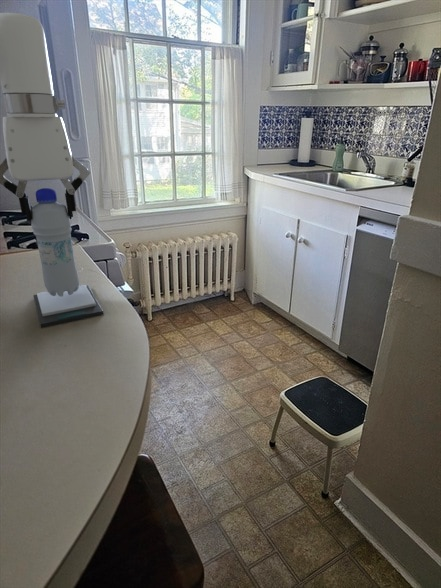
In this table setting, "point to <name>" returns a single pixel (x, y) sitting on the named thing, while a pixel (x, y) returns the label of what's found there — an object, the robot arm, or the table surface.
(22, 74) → the robot arm
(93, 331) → the table surface
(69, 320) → the scale
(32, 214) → the bottle
